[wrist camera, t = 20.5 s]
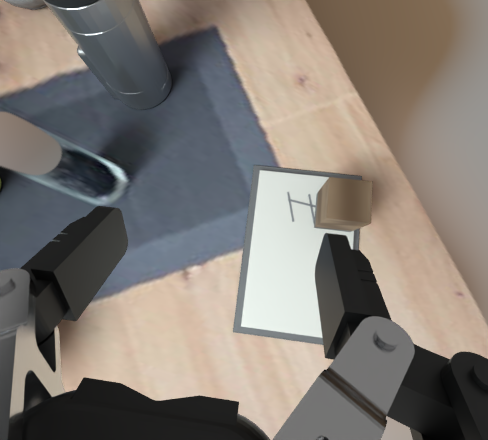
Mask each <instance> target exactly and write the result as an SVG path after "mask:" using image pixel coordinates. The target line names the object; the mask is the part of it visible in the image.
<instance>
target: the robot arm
mask: <svg viewBox="0 0 488 440" xmlns="http://www.w3.org/2000/svg"><path fill="white" fill-rule="evenodd" d="M43 1H44V2H45V4H46V5H47V6H48V7H49V9H50V10H51V11H52V13H53V14H54V15H55V16H56V18H57V19H58V20H59V21H60V23H61V24H62V25H63V27H64V28H65V29H66V30H67V32H68V33H69V34H70V35H71V37H72V38H73V39H74V41H75V42H76V43H77V44H78V48H77V53H78V55H79V56H80V57H81V59H82V60H83V61H84V62H85V64H86V65H87V66H88V67H89V68H90V70H91V71H92V72H93V73H94V75H95V76H96V77H97V78H98V80H99V81H100V82H101V83H102V84H103V86H104V87H105V88H106V89H107V91H108V92H109V93H110V94H111V96H112V97H113V98H114V99H120V100H121V101H122V102H123V103H124V104H125V105H127V106H129V107H131V108H134V109H149V108H152V107H154V106H156V105H158V104H160V103H161V102H162V101H163V100H164V99H165V98H166V97H167V95H168V94H169V92H170V89H171V85H172V79H171V75H170V73H169V70H168V67H167V65H166V63H165V61H164V58H163V56H162V53H161V51H160V49H159V46H158V44H157V41H156V39H155V37H154V34H153V32H152V30H151V27H150V25H149V23H148V20H147V18H146V16H145V13H144V11H143V9H142V6H141V4H140V2H139V0H43ZM127 246H128V238H127V234H126V229H125V225H124V220H123V216H122V212H121V210H120V209H119V208H112V207H104V206H98V207H96V208H95V209H94V210H93V211H91V212H90V213H89V214H88V215H87V216H86V217H82V218H80V219H79V220H77V221H75V222H73V223H71V224H69V225H68V226H67V227H66V228H65V229H64V230H63V231H62V232H61V234H58V235H57V236H56V237H55V238H54V239H53V241H52V242H49V243H48V244H47V245H46V246H45V247H44V248H43V249H41V250H40V251H39V252H38V253H37V254H36V255H35V256H34V257H32V258H31V259H30V260H29V261H28V262H27V263H26V264H25V265H24V266H22V267H21V268H20V269H18V268H14V269H6V270H2V271H0V440H270V439H269V437H268V436H267V435H266V434H265V433H264V432H263V431H262V430H261V429H260V428H259V427H258V426H257V425H256V424H254V423H253V422H252V421H250V420H249V419H247V418H246V417H244V416H242V415H240V414H238V405H239V402H236V401H230V400H224V399H217V398H211V397H205V396H194V397H186V398H178V399H170V400H163V401H155V400H152V399H150V398H148V397H146V396H144V395H142V394H141V393H139V392H137V391H135V390H133V389H131V388H129V387H127V386H125V385H123V384H121V383H116V382H109V381H103V380H97V379H90V378H83V380H82V381H81V383H80V385H79V386H78V388H77V390H74V391H70V392H65V389H64V386H63V382H62V375H61V357H60V338H59V329H58V327H57V325H58V324H59V322H60V321H61V320H62V319H65V320H72V321H77V320H78V318H79V317H80V315H81V314H82V313H83V311H84V310H85V308H86V307H87V306H88V304H89V303H90V301H91V300H92V299H93V297H94V296H95V295H96V293H97V292H98V290H99V289H100V288H101V286H102V285H103V283H104V282H105V281H106V279H107V278H108V276H109V275H110V274H111V272H112V271H113V269H114V268H115V267H116V265H117V264H118V263H119V261H120V260H121V258H122V257H123V256H124V254H125V252H126V250H127ZM376 282H377V281H376V278H375V276H374V274H373V270H372V268H371V265H370V262H369V260H368V259H367V258H366V257H365V256H364V255H363V254H362V253H361V251H360V250H353V249H351V247H350V244H349V241H348V238H347V236H346V235H340V234H331V233H325V234H324V237H323V240H322V243H321V247H320V251H319V254H318V258H317V261H316V266H315V284H316V291H317V299H318V307H319V314H320V322H321V330H322V337H323V345H324V353H325V358H328V359H334V361H333V362H332V364H331V365H330V366H329V368H328V369H327V370H324V371H323V372H322V373H321V374H320V375H319V376H318V378H317V379H316V381H315V382H314V383H313V385H312V386H311V387H310V389H309V390H308V392H307V393H306V394H305V396H304V397H303V398H302V400H301V401H300V403H299V404H298V405H297V407H296V408H295V409H294V411H293V412H292V414H291V415H290V416H289V418H288V419H287V420H286V422H285V423H284V425H283V426H282V427H281V429H280V430H279V432H278V433H277V434H276V436H275V437H274V438H273V440H380V439H381V437H382V434H383V433H384V430H385V427H386V424H387V420H386V416H388V417H390V418H392V419H394V420H396V421H398V422H400V423H402V424H404V425H406V426H408V427H410V430H411V434H412V437H413V440H488V359H487V358H485V357H482V356H480V355H478V354H475V353H471V352H459V353H456V354H455V355H454V356H453V357H452V358H451V359H447V358H445V357H443V356H440V355H438V354H435V353H433V352H430V351H428V350H426V349H423V348H421V347H419V346H417V345H415V344H413V342H412V340H411V338H410V336H409V335H408V334H407V333H406V331H405V330H404V329H403V328H401V327H400V326H399V325H398V324H396V323H395V322H393V321H392V320H391V318H390V315H389V313H388V310H387V307H386V305H385V302H384V299H383V297H382V294H381V291H380V289H379V286H378V284H377V283H376Z"/></svg>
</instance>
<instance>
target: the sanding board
mask: <svg viewBox="0 0 488 440" xmlns="http://www.w3.org/2000/svg"><path fill="white" fill-rule="evenodd" d="M329 177H334V178H344V179H353V180H362V176H355V175H345V174H335V173H326V172H316V171H306V170H296V169H287V168H277V167H267V166H257V165H254V168H253V176H252V184H251V192H250V200H249V208H248V216H247V224H246V232H245V240H244V248H243V256H242V264H241V272H240V280H239V288H238V296H237V304H236V312H235V320H234V328H233V332H236V333H243V334H250V335H257V336H265V337H272V338H279V339H286V340H293V341H300V342H307V343H314V344H321V345H323V337H322V330H321V322H320V314H319V307H318V299H317V291H316V284H315V266H316V261H317V258H318V254H319V251H320V247H321V243H322V240H323V237H324V234H325V233H331V234H340V235H346V236H347V238H348V241H349V244H350V247H351V249H353V250H358V245H359V229H356V230H354V231H352V232H345V231H336V230H328V229H319V228H314V220H315V207H316V195H317V193H318V191H319V190H320V189H321V187H322V186H323V185H324V183H325V182H326V181H327V180H328V178H329Z"/></svg>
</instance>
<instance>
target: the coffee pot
mask: <svg viewBox="0 0 488 440" xmlns="http://www.w3.org/2000/svg"><path fill="white" fill-rule="evenodd" d="M4 1H6V2H8V3H10V4H12V5H13V6H17V7H22V8H27V9H40V8H43V7H45V6H47V5H46V4H45V2H44V1H43V0H4Z"/></svg>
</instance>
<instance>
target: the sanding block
mask: <svg viewBox="0 0 488 440" xmlns="http://www.w3.org/2000/svg"><path fill="white" fill-rule="evenodd" d="M372 184H373V182H372V181H363V180H353V179H344V178H334V177H329V178H328V180H327V181H326V182H325V183H324V185H323V186H322V187H321V189H320V190H319V191H318V193H317V195H316V207H315V220H314V228H319V229H328V230H336V231H345V232H352V231H354V230H356V229H359V228H361V227H363V226H366V225H368V224H370V223H371V207H372Z"/></svg>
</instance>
